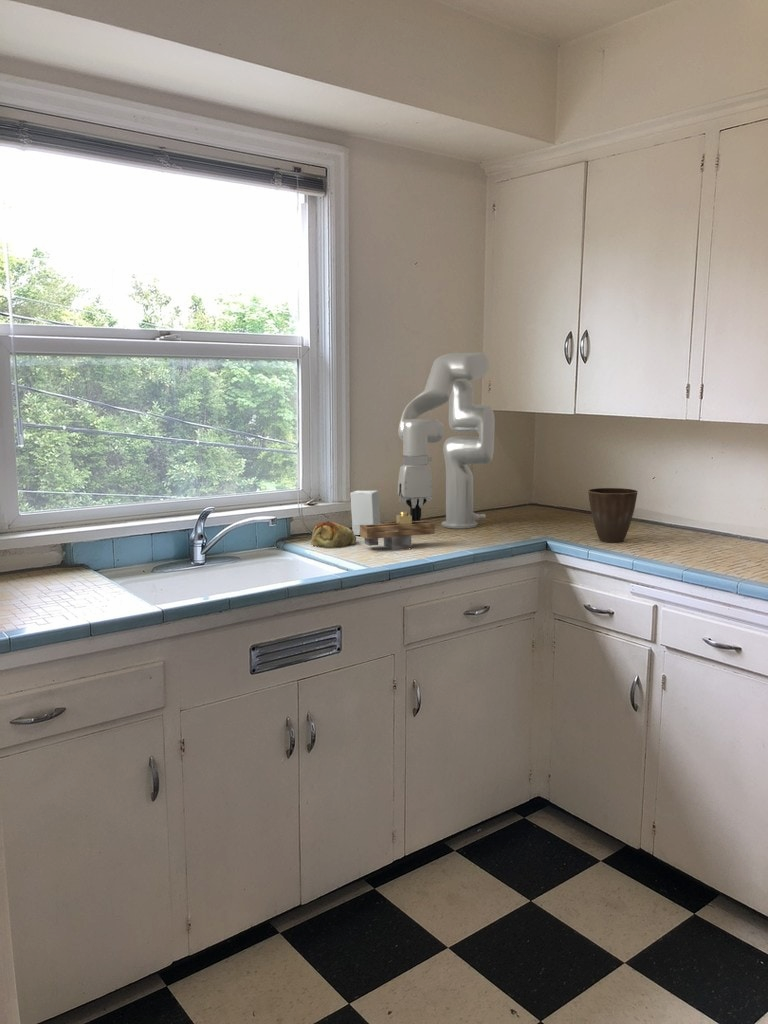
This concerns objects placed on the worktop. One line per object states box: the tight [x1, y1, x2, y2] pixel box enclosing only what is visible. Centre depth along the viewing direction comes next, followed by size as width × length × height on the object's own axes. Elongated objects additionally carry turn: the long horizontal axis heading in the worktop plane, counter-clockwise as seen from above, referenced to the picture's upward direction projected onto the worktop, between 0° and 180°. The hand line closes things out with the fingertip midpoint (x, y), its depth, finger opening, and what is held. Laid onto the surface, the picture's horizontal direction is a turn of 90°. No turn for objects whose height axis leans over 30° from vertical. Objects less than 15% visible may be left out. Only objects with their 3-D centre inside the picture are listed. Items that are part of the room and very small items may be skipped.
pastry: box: [310, 520, 357, 549], centre depth 255 cm, size 14×12×8 cm
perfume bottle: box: [395, 511, 413, 525], centre depth 250 cm, size 4×3×5 cm
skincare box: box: [349, 489, 381, 535], centre depth 271 cm, size 8×6×15 cm
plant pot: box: [587, 487, 639, 544], centre depth 256 cm, size 15×15×16 cm
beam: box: [359, 519, 436, 551], centre depth 250 cm, size 22×8×7 cm, turn 110°
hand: (415, 520), depth 251 cm, fingers closed
